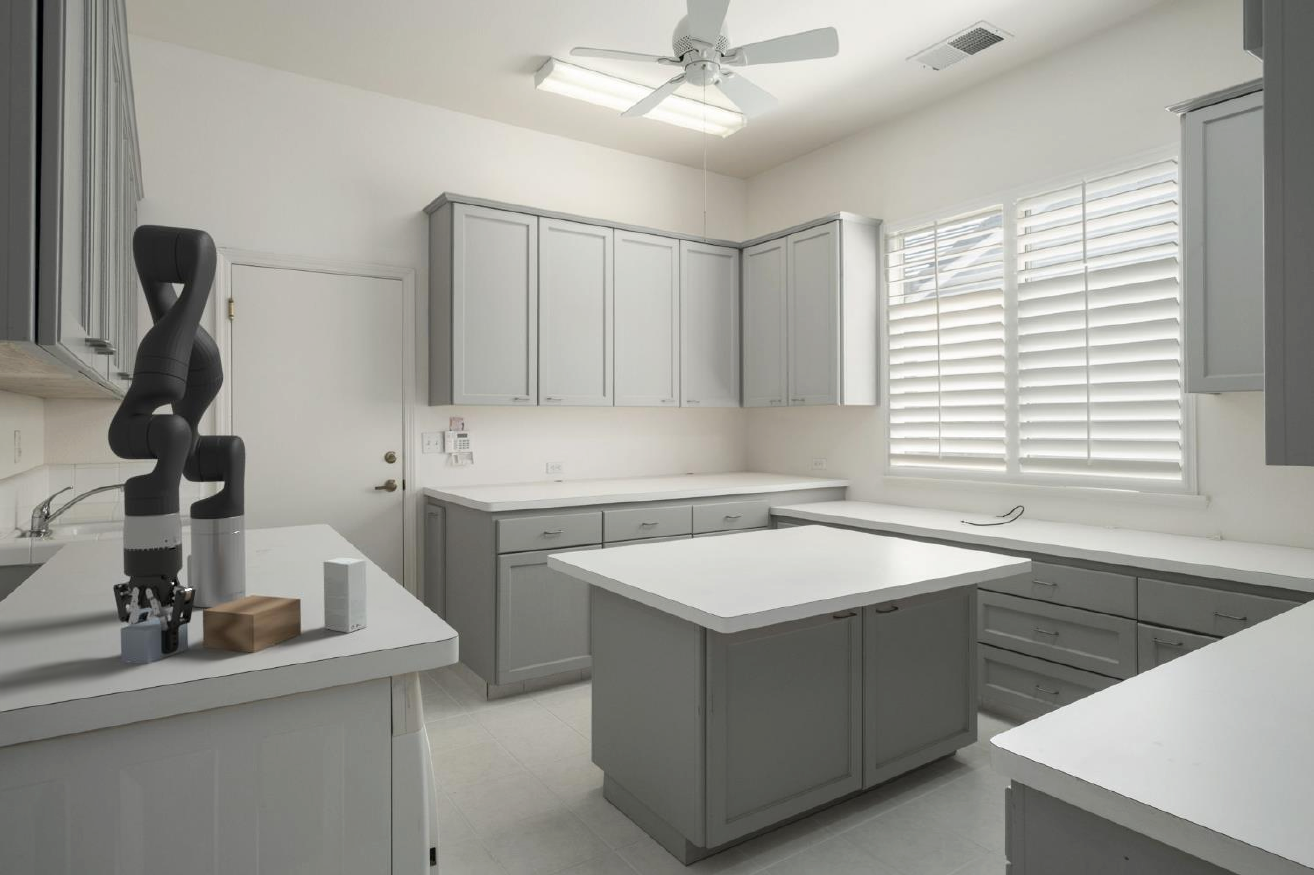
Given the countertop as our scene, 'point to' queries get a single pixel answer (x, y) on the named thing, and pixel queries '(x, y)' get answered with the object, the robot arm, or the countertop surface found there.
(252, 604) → the walnut block
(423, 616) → the countertop surface
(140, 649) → the slate brick
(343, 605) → the skincare box
